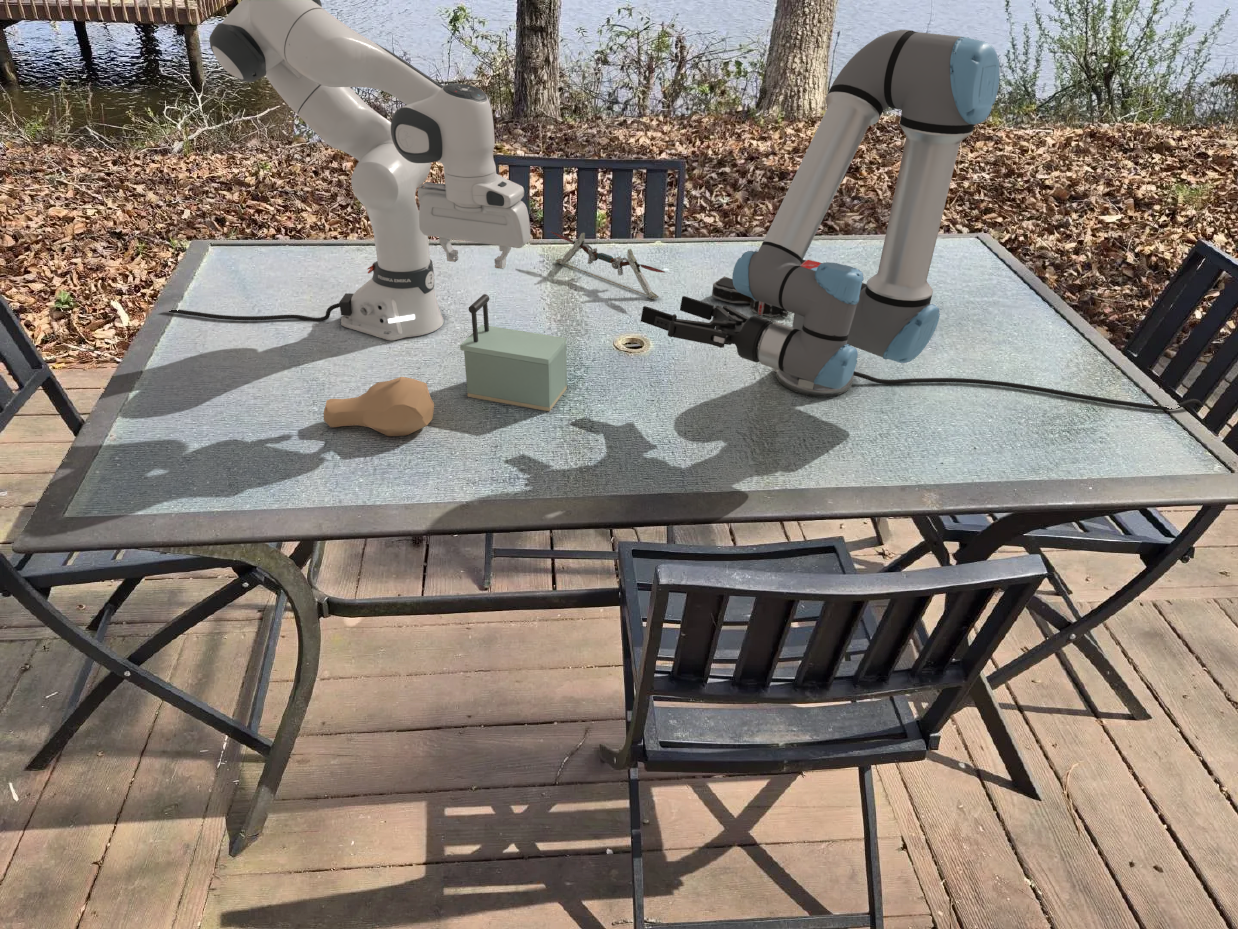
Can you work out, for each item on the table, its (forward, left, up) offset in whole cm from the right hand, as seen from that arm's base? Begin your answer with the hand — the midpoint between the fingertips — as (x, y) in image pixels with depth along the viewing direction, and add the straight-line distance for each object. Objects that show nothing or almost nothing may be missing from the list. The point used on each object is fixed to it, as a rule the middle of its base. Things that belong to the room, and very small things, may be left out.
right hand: (662, 308), depth 160 cm
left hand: (+33, -8, +6) cm, 35 cm away
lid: (+27, -5, -9) cm, 29 cm away
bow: (+3, -60, -19) cm, 63 cm away
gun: (-37, -50, -19) cm, 65 cm away
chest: (+27, -5, -19) cm, 33 cm away
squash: (+52, +6, -19) cm, 56 cm away
